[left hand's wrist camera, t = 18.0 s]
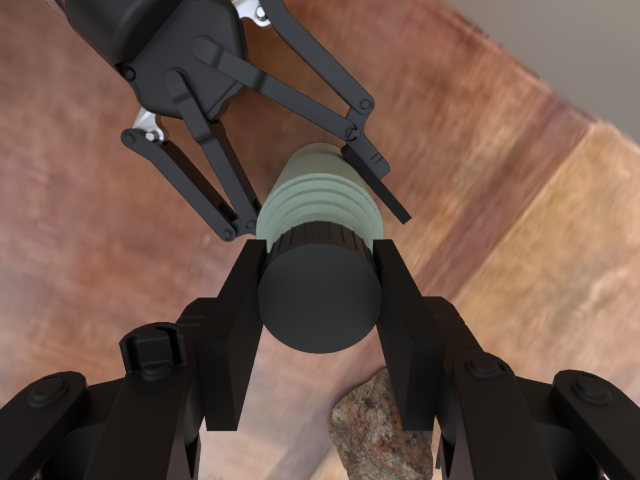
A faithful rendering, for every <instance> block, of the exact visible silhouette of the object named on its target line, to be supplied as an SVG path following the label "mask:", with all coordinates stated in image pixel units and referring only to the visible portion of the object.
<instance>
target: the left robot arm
mask: <svg viewBox="0 0 640 480" xmlns="http://www.w3.org/2000/svg"><path fill="white" fill-rule="evenodd" d="M266 256H267V239H248V240H247V241H246V243H245V245H244V247H243V249H242V251H241V253H240V255H239V257H238V259H237V260H236V262H235V264H234V266H233V268H232V270H231V272H230V274H229V276H228V277H227V279H226V281H225V283H224V285H223V287H222V289H221V291H220V293H219V295H218V296H217V298H197V299H196V300H194V301H193V302H192V303H190V304H189V305H187V306H186V308H185V309H184V311H183V312H182V314H181V315H180V318H178V320H177V321H176V323H175V324H174V323H170V322H156V323H151V324H146V325H143V326H141V327H139V328H136V329H134V330H132V331H131V332H129V333H128V334H126V335H125V336H124V337H123V338H122V340H121V341H120V342H119V345H120V349H121V353H122V358H123V362H124V366H125V370H126V375H125V377H124V378H120V379H117V380H113V381H109V382H104V383H100V384H95V385H91V386H88V385H87V381H86V378H85V377H84V376H83V375H82V374H81V373H78V372H73V371H67V372H58V373H55V374H52V375H48V376H45V377H43V378H41V379H39V380H37V381H35V382H33V383H31V384H29V385H28V386H27V387H25V388H24V389H23V390H21V391H20V392H19V393H18V394H17V395H16V396H15V397H13V398H12V399H11V400H10V401H9V402H8V403H7V404H6V405H5V406H4V407H3V408H2V409H1V410H0V480H32V479H33V478H34V476H35V475H36V478H35V480H198V471H199V461H200V452H201V442H200V436H199V429H200V426H201V424H202V421H203V418H204V416H205V422H206V428H207V431H237V427H238V424H239V420H240V416H241V412H242V408H243V404H244V400H245V396H246V392H247V388H248V384H249V380H250V376H251V372H252V368H253V364H254V360H255V356H256V352H257V348H258V344H259V340H260V337H261V333H262V329H263V325H264V323H263V322H262V320H261V317H260V314H259V300H258V285H259V282H260V279H261V276H262V275H260V273H261V270H262V268H263V265H264V262H265V259H266ZM372 256H373V259H374V262H375V265H376V268H377V272H378V275H379V278H380V283H381V287H382V294H381V309H380V316H379V319H378V320H377V322H376V326H377V330H378V334H379V338H380V342H381V346H382V350H383V354H384V358H385V362H386V366H387V370H388V374H389V378H390V382H391V386H392V390H393V393H394V397H395V401H396V405H397V409H398V413H399V417H400V421H401V425H402V429H403V431H433V426H434V419H435V415H436V418H437V420H438V423H439V426H440V428H441V436H440V442H439V448H438V454H437V460H436V467H435V468H436V469H440V466H441V470H442V480H607V479H606V478H605V477H604V476H603V475H604V473H605V474H606V475H607V477H608V478H609V479H610V480H640V408H639V407H638V406H637V405H636V404H635V403H634V402H633V401H632V400H631V399H630V398H629V397H627V396H626V395H625V394H624V393H623V392H622V391H621V390H620V389H618V388H617V387H616V386H614V385H613V384H611V383H610V382H608V381H606V380H604V379H602V378H600V377H598V376H596V375H594V374H591V373H588V372H584V371H579V370H570V369H569V370H564V371H560V372H558V373H557V374H556V375H555V376H554V380H553V383H552V384H547V383H543V382H538V381H534V380H529V379H525V378H521V377H518V376H515V374H514V372H513V371H512V369H511V368H510V366H509V365H508V364H507V363H505V362H504V361H503V360H501V359H500V358H499V357H496V356H494V355H492V354H490V353H487V352H484V351H483V349H482V348H481V346H480V345H479V343H478V342H477V340H476V339H475V337H474V336H473V334H472V333H471V331H470V330H469V328H468V327H467V325H465V322H464V321H463V319H462V318H461V317H460V315H459V313H458V311H457V310H456V308H455V307H454V305H453V304H451V303H450V302H448V301H447V300H445V299H444V298H443V297H422V295H421V293H420V292H419V290H418V288H417V286H416V284H415V282H414V280H413V278H412V276H411V274H410V273H409V271H408V269H407V267H406V265H405V263H404V261H403V259H402V257H401V256H400V254H399V252H398V250H397V248H396V246H395V244H394V242H393V240H392V239H373V249H372Z"/></svg>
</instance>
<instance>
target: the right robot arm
mask: <svg viewBox="0 0 640 480" xmlns="http://www.w3.org/2000/svg"><path fill="white" fill-rule="evenodd" d="M44 1H45V2H46V3H47V4H48V5H49V6H50V7H51V8H52V9H53V10H54V11H55V12H56V13H57V14H58V15H60V16H62V17H64V18H66V19H68V22H69V24H70V25H71V27H72V28H73V29H74V30H75V31H76V32H77V33H78V34H79V35H80V36H81V37H82V38H83V39H84V40H85V41H86V42H87V43H88V44H89V45H90V46H91V47H92V48H93V49H94V50H95V51H96V52H97V53H98V54H99V55H100V56H101V57H102V58H103V59H104V60H105V61H106V62H107V63H108V64H109V65H110V66H111V67H112V68H113V69H114V70H115V71H116V72H117V73H118V74H120V75H121V76H122V77H123V78H124V79H125V80H126V81H127V82H128V83H129V84H130V85H131V87H132V89H133V90H134V92H135V95H136V97H137V100H138V102H139V104H140V105H141V109H140V111H139V113H138V115H137V118H136V120H135V122H134V124H133V127H132V128H131V129H126V130H124V131H123V132H122V133H121V141H122V143H123V144H124V145H125V146H126V147H128V148H130V149H131V150H133V151H135V152H136V153H138V154H140V155H141V156H143V157H145V158H146V159H148V160H150V161H151V162H152V163H153V164H154V165H155V166H156V168H157V169H158V170H159V171H160V172H161V173H162V174H163V175H164V176H165V177H166V179H167V180H168V181H169V182H170V183H171V184H172V185H173V186H174V187H175V188H176V190H177V191H178V192H179V193H180V194H181V195H182V196H183V197H184V198H185V199H186V201H187V202H188V203H189V204H190V205H191V206H192V207H193V208H194V209H195V210H196V212H197V213H198V214H199V215H200V216H201V217H202V218H203V219H204V220H205V221H206V223H207V224H208V225H209V226H210V227H211V228H212V229H213V230H214V231H215V232H216V234H217V235H218V236H219V237H220V238H221V239H222V240H224V241H226V242H231V241H233V240H234V239H235V238H236V237H239V236H241V235H244V234H249V233H250V234H253V235H255V236H256V225H257V220H258V216H259V213H260V211H261V208H262V206H261V204H260V202H259V200H258V198H257V196H256V194H255V192H254V190H253V188H252V186H251V184H250V182H249V180H248V178H247V176H246V174H245V172H244V170H243V168H242V166H241V164H240V162H239V160H238V158H237V156H236V154H235V152H234V150H233V148H232V146H231V144H230V142H229V140H228V138H227V136H226V133H225V128H224V126H223V124H222V122H221V120H220V117H221V116H222V115H223V114H224V113H225V112H226V110H227V108H228V106H229V105H230V103H231V101H232V100H234V99H235V98H237V97H239V96H240V95H242V94H243V93H244V92H245V91H246V90H247V89H248V87H249V88H251V89H253V90H255V91H257V92H259V93H261V94H263V95H264V96H266V97H268V98H270V99H272V100H273V101H275V102H277V103H279V104H280V105H282V106H284V107H286V108H288V109H289V110H291V111H293V112H295V113H296V114H298V115H300V116H302V117H304V118H305V119H307V120H309V121H311V122H312V123H314V124H316V125H318V126H320V127H321V128H323V129H325V130H327V131H328V132H330V133H332V134H334V135H336V136H337V137H339V138H341V139H343V140H344V141H345V142H346V143H347V144H346V145H345V146H343V147H342V148H341V149H340V151H341V154H342V155H343V157H344V158H345V159H346V160H347V161H348V162H349V163H350V165H351V166H352V167H353V168H354V169H355V170H356V171H357V173H358V174H359V175H360V176H361V177H362V178H363V179H364V181H365V182H366V183H367V184H368V185H369V186H370V187H371V189H372V190H373V191H374V192H375V193H376V194H377V195H378V197H379V198H380V199H381V200H382V201H383V202H384V203H385V205H386V206H387V207H388V208H389V209H390V210H391V211H392V212H393V214H394V215H395V216H396V217H397V218H398V219H399V220H400V222H401V223H402V224H405V223H406V222H407V221H408V220H410V219H411V218H412V217H411V216H410V215H409V214H408V212H407V211H406V210H405V209H404V207H403V206H402V205H401V204H400V203H399V202H398V200H397V199H396V198H395V197H394V196H393V195H392V194H391V192H390V191H389V190H388V189H387V188H386V187H385V185H384V184H383V183H382V182H381V181H380V179H382V178H383V177H384V176H385V175H386V174H387V173H389V172H390V167H389V164H388V162H387V161H386V160H385V159H384V158H383V156H382V155H381V154H380V153H379V152H378V150H377V149H376V148H375V147H374V146H373V144H372V143H371V142H370V141H369V140H368V139H367V137H366V136H365V134H364V129H363V128H364V124H365V122H366V120H367V118H368V116H369V114H370V112H372V110H373V109H374V105H375V102H374V99H373V98H372V96H371V95H370V94H369V93H368V92H367V91H366V90H365V89H364V88H363V87H362V86H361V85H360V84H359V83H358V82H357V81H356V80H355V79H354V78H353V77H352V76H351V75H350V74H349V73H348V72H347V71H346V70H345V69H344V68H343V67H342V66H341V65H340V64H339V63H338V62H337V61H336V60H335V59H334V58H333V57H332V56H331V55H330V54H329V53H328V52H327V51H326V49H325V48H324V47H323V46H322V45H321V44H320V43H319V42H318V41H317V40H316V39H315V38H314V37H313V36H312V35H311V34H310V33H309V32H308V31H307V30H306V29H305V28H304V27H303V26H302V25H301V24H300V23H299V22H298V21H297V20H296V19H295V18H294V17H293V16H292V15H291V14H290V13H289V12H288V11H287V9H286V7H285V5H284V3H283V1H282V0H233V1H229V0H44ZM246 20H251V21H253V22H255V23H256V24H257V25H258V27H260V28H261V29H264V30H265V29H269V28H271V27H272V26H273V28H274V29H275V31H276V32H277V33H278V35H279V36H280V37H281V38H282V39H283V41H284V42H285V43H286V44H287V45H288V46H289V47H290V48H291V49H292V50H293V51H294V52H295V53H296V54H297V55H299V56H300V57H301V58H302V59H303V60H304V61H305V62H306V63H307V64H308V65H309V66H310V67H311V68H312V69H313V70H314V71H315V72H316V73H317V74H318V75H319V76H320V77H321V78H322V79H323V80H324V81H325V82H326V83H327V84H328V85H329V86H330V87H331V88H332V89H333V90H334V91H335V92H336V93H337V94H338V95H339V96H340V97H341V98H342V99H343V100H344V101H345V102H346V103H347V104H348V105H349V106H350V109H349V111H348V113H347V115H346V117H345V118H344V117H342V116H340V115H339V114H337V113H335V112H333V111H332V110H330V109H328V108H326V107H325V106H323V105H321V104H319V103H318V102H316V101H314V100H312V99H311V98H309V97H307V96H305V95H304V94H302V93H300V92H299V91H297V90H295V89H293V88H292V87H290V86H288V85H286V84H285V83H283V82H281V81H279V80H278V79H276V78H274V77H272V76H271V75H269V74H267V73H265V72H264V71H262V70H260V69H259V68H257V67H255V66H253V65H252V64H250V62H249V56H248V50H247V44H246V38H245V32H244V25H243V22H244V21H246ZM161 115H162V116H166V117H171V118H176V119H181V120H184V121H185V123H186V125H187V127H188V129H189V131H190V132H191V134H192V136H193V138H194V140H195V141H196V142H197V143H198V144H199V145H200V146H201V148H202V149H203V151H204V153H205V155H206V157H207V159H208V161H209V163H210V164H211V166H212V168H213V170H214V172H215V174H216V176H217V178H218V179H219V181H220V183H221V185H222V187H223V189H224V191H225V193H226V194H227V196H228V198H229V200H230V202H231V204H232V206H233V208H234V209H235V211H236V213H237V214H236V213H235V212H234V210H233V209H232V208H231V207H230V206H229V205H228V204H227V202H226V201H225V200H224V199H223V198H222V197H221V196H220V194H219V193H218V192H217V191H216V190H215V189H214V187H213V186H212V185H211V184H210V183H209V182H208V181H207V179H206V178H205V177H204V176H203V175H202V174H201V173H200V171H199V170H198V169H197V168H196V167H195V166H194V164H193V163H192V162H191V161H190V160H189V159H188V158H187V156H186V155H185V154H184V153H183V152H182V151H181V150H180V149H179V148H178V147H177V146H176V145H175V144H174V143H173V142H172V141H170V140H169V133H168V131H167V129H166V128H165V127H164V126H163V125H162V123H161Z"/></svg>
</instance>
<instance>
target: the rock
mask: <svg viewBox="0 0 640 480" xmlns="http://www.w3.org/2000/svg"><path fill="white" fill-rule="evenodd" d="M433 428H434V426H433ZM329 433H330V437H331V439H332V441H333V443H334V444H335V445H337V452H338V454H339V456H340V459H341V461H342V464H343V466H344V468H345V469H346V470H347V474H348V478H349V480H431V479H432V476H433V456H432V452H431V443H432V435H433V431H403V429H402V425H401V421H400V417H399V413H398V409H397V405H396V401H395V397H394V393H393V390H392V386H391V382H390V378H389V374H388V370H387V368H385V369H382V370H381V371H380V372H378V373H377V374H376V375H375V376H373V377H372V379H371V380H369V381H368V382H367V383H365V384H363V385H361V386H359V387H357V388H354V389H353V390H352V392H350V393H349V394H348V395H347V396H345V397H344V398H342V400H341V401H340V402H339V403H338V404H337V405H336V406H335V407H334V408H333V411H332V415H331V417H330V424H329Z"/></svg>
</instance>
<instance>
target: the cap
mask: <svg viewBox="0 0 640 480" xmlns="http://www.w3.org/2000/svg"><path fill="white" fill-rule="evenodd" d="M260 275H262V276H261V279H260V282H259V285H258V300H259V314H260V317H261V320H262V322H263V323H264V325H265V327H266V328H267V329H268V331H269V332H270V333H271V334H272V335H273V336H274V337H275V338H276V339H278V340H279V341H280V342H282V343H283V344H285V345H287V346H289V347H291V348H293V349H296V350H299V351H302V352H307V353H316V354H324V353H333V352H337V351H341V350H344V349H346V348H349V347H351V346H353V345H355V344H356V343H358V342H359V341H361V340H362V339H363V338H364V337H365V336H367V334H368V333H369V332H370V331H371V330H372V329H373V327H374V326H375V324H376V322H377V320H378V319H379V316H380V309H381V294H382V287H381V283H380V278H379V275H378V272H377V268H376V265H375V262H374V259H373V256H372V253H371V250H370V248H368V247H367V246H366V244H365V242H364V239H363V238H362V239H361V238H360V237H359V236H358V235H357V234H356V233H355V231H354V230H353V231H352V230H350V229H349V228H347V227H345V226H344V225H342V224H341V225H340V224H337V223H333V222H331V221H329V222H328V221H318V220H316V221H312V222H306V223H305V222H303V224H299V225H297V226H295V227H291V229H289V230H288V231H286V232H285V233H284V234H283V233H282V234H281V236H280V237H279V238H278V239H277V241H276V242H275V243H273V244H272V247H271V250H270V253H267V256H266V259H265V262H264V265H263V268H262V270H261V273H260Z"/></svg>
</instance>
